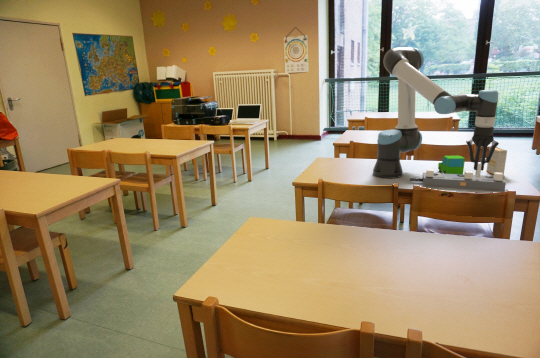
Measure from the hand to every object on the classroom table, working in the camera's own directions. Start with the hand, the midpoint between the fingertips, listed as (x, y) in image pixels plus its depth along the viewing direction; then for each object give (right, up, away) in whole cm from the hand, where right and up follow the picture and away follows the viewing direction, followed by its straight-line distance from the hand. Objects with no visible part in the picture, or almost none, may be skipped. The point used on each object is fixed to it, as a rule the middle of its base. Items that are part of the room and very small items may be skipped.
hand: (477, 176), depth 169 cm
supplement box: (+21, +2, +22) cm, 31 cm away
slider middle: (-4, -1, +1) cm, 4 cm away
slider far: (+8, -2, -3) cm, 8 cm away
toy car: (-1, +2, +25) cm, 25 cm away
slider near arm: (-19, 0, +7) cm, 20 cm away
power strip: (-7, -4, +6) cm, 10 cm away
